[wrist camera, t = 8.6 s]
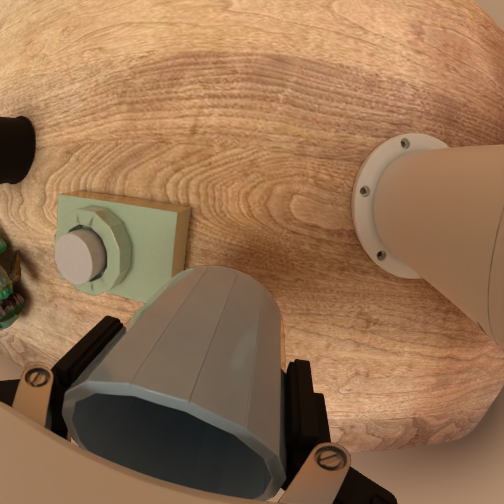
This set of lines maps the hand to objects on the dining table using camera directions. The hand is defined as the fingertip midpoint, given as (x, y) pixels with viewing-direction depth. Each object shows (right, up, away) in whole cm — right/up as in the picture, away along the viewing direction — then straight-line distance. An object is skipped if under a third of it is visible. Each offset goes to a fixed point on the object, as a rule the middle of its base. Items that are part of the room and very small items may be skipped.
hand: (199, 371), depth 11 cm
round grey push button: (-11, +5, +9) cm, 15 cm away
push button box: (-9, +6, +14) cm, 18 cm away
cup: (0, +1, +4) cm, 4 cm away
